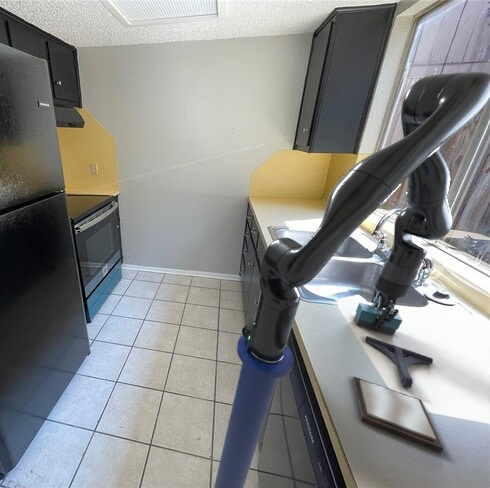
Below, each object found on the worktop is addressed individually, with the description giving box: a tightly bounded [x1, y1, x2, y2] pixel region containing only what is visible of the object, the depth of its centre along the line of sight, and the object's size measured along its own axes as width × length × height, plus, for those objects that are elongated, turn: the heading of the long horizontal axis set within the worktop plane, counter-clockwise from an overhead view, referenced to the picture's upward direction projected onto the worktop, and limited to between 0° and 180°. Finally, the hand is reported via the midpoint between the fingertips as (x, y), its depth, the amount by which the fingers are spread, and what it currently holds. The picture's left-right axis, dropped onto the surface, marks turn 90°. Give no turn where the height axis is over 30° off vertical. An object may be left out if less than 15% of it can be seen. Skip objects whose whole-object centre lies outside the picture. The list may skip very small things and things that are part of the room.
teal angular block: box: [353, 302, 403, 336], centre depth 81 cm, size 10×4×6 cm, turn 64°
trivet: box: [351, 376, 445, 453], centre depth 56 cm, size 13×11×2 cm
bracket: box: [364, 335, 434, 389], centre depth 67 cm, size 14×15×3 cm
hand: (374, 323), depth 81 cm, fingers closed on teal angular block, 4 cm apart
